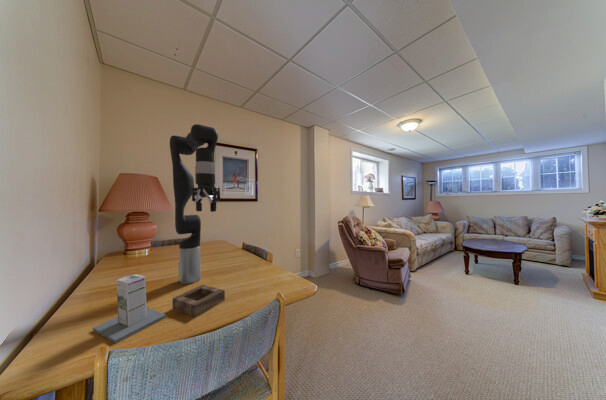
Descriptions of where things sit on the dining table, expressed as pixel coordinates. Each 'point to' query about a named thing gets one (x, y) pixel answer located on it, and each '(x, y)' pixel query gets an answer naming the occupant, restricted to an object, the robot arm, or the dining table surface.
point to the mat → (120, 332)
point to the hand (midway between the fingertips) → (205, 211)
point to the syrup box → (131, 299)
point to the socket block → (195, 308)
